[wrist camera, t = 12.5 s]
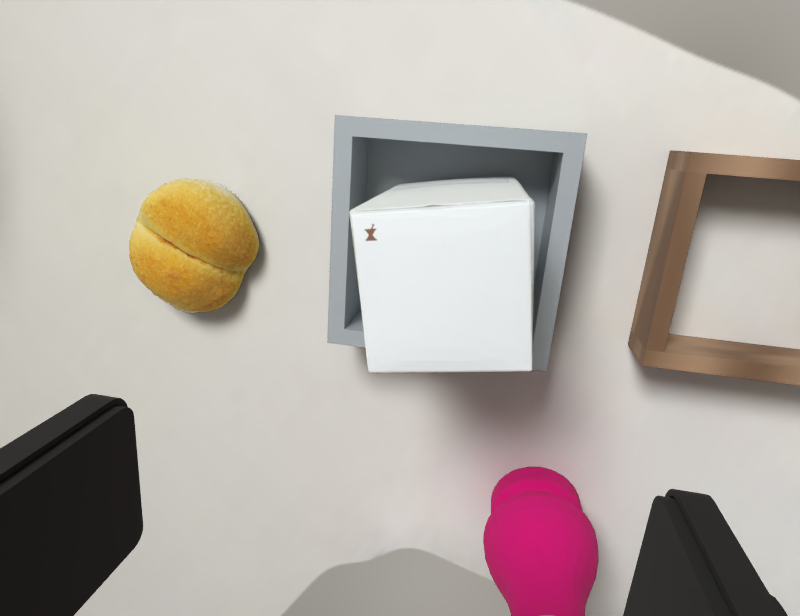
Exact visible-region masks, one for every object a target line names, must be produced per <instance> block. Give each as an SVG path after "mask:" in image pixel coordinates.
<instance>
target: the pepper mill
mask: <svg viewBox="0 0 800 616" xmlns="http://www.w3.org/2000/svg"><path fill="white" fill-rule="evenodd" d="M483 542H484V550H485V559H486V562H487V565H488V568H489V571H490V574H491V576H492V578H493V580H494V582H495V584H496V585H497V587H498V589H499V590H500V592H501V593H502V595H503V597H504V598H505V600H506V602H507V603H508V606H509V609H510V612H511V616H585V606H586V602H587V599H588V596H589V594H590V591H591V589H592V586H593V584H594V581H595V578H596V573H597V566H598V546H597V539H596V535H595V531H594V529H593V527H592V525H591V523H590V521H589V519H588V518H587V516H586V515H585V514H584V513H583V512H582V509H581V505H580V501H579V497H578V494H577V492H576V490H575V488H574V486H573V485H572V484H571V483H570V482H569V481H568V480H567V479H566V478H565V477H564V476H562V475H560V474H558V473H557V472H555V471H553V470H549V469H546V468H542V467H526V468H521V469H517V470H514V471H512V472H510V473H508V474H507V475H505V476H504V477H503V478H502V479H501V480H500V481H499V482H498V483H497V485H496V486H495V488H494V490H493V493H492V498H491V515H490V517H489V519H488V521H487V523H486V526H485V531H484V540H483Z"/></svg>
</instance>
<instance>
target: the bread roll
mask: <svg viewBox="0 0 800 616" xmlns="http://www.w3.org/2000/svg"><path fill="white" fill-rule="evenodd" d="M129 248H130V255H129V256H130V261H131V264H132V267H133V271H134V272H135V274H136V275H137V277H138V278H139V280H140V281H141V282H142V283H143V284H144V285H145V286H146V287H147V288H148V289H149V290H151V291H152V293H153V294H154V295H156V296H158V297H159V298H160V299H162V300H164V301H165V302H167V303H169V304H170V305H172V306H173V307H175V308H177V309H178V310H181V311H184V312H187V313H196V312H208V311H213V310H216V309H219V308H221V307H222V306H223V305H225V304H226V303H227V302H228V301H230V300H231V299H232V298H233V297H234V295H235V294H236V293H237V291H238V289H239V287H240V285H241V282H242V280H243V277H244V274H245V273H246V271H247V269H248V267H249V266H250V265H251V264H252V263H253V261H254V260H255V258H256V255H257V253H258V249H259V239H258V235H257V232H256V230H255V227H254V225H253V223H252V220H251V218H250V216H249V214H248V212H247V211H246V209H245V208H244V206H243V204H242V203H241V201H240V200H239V199H238V198H237V196H236V195H235V194H234V193H232V192H231V191H230V190H228V189H227V188H226V187H224V186H222V185H220V184H218V183H216V182H213V181H207V180H198V179H179V180H175V181H171V182H169V183H166V184H164V185H162V186H160V187H159V188H158V189H156V190H155V191H153V192H152V193H150V194H149V195H148V196H147V198H146V199H145V200H144V202H143V203H142V206H141V209H140V212H139V215H138V218H137V221H136V223H135V226H134V229H133V231H132V234H131V238H130V244H129Z"/></svg>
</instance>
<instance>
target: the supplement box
mask: <svg viewBox="0 0 800 616" xmlns="http://www.w3.org/2000/svg"><path fill="white" fill-rule="evenodd" d="M349 215H350V222H351V230H352V238H353V246H354V254H355V262H356V270H357V278H358V286H359V294H360V302H361V311H362V320H363V329H364V339H365V348H366V357H367V366H368V371H369V372H370V373H431V372H512V371H532V351H533V292H534V234H535V202H534V201H533V200H532V199H531V198H530V197H529V196H528V194H527V193H526V192H525V190H524V189H523V187H522V186H521V184H520V183H519V182H518V181H517V179H516V178H515V177H514V176H496V177H478V178H460V179H447V180H435V181H424V182H413V183H400V184H398V185H397V186H395V187H393V188H391V189H389V190H387V191H385V192H384V193H382V194H380V195H378V196H376V197H374V198H372V199H370V200H369V201H367V202H365V203H363V204H361V205H359V206H357V207H355V208H353V209H352V210H350V212H349Z"/></svg>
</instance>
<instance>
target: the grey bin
mask: <svg viewBox="0 0 800 616" xmlns="http://www.w3.org/2000/svg"><path fill="white" fill-rule="evenodd" d="M586 138H587V133H573V132H559V131H546V130H532V129H518V128H504V127H491V126H477V125H463V124H449V123H436V122H422V121H408V120H394V119H381V118H367V117H353V116H340V115H335V126H334V157H333V187H332V218H331V249H330V279H329V310H328V341H327V343H333V344H341V345H349V346H356V347H364V348H365V339H364V329H363V320H362V311H361V302H360V294H359V286H358V278H357V270H356V262H355V254H354V246H353V238H352V230H351V222H350V215H349V212H350V210H352V209H353V208H355V207H357V206H359V205H361V204H363V203H365V202H367V201H369V200H370V199H372V198H374V197H376V196H378V195H380V194H382V193H384V192H385V191H387V190H389V189H391V188H393V187H395V186H397V185H398V184H400V183H413V182H424V181H435V180H447V179H460V178H478V177H496V176H514V177H515V178H516V179H517V181H518V182H519V183H520V184H521V186H522V187H523V189H524V190H525V192H526V193H527V194H528V196H529V197H530V198H531V199H532V200H533V201H534V202H535V234H534V292H533V351H532V370H540V371H547V367H548V361H549V355H550V349H551V344H552V338H553V332H554V326H555V320H556V314H557V308H558V303H559V297H560V291H561V285H562V279H563V273H564V267H565V261H566V256H567V250H568V244H569V238H570V232H571V226H572V220H573V215H574V209H575V203H576V197H577V191H578V185H579V179H580V174H581V168H582V162H583V156H584V150H585V144H586Z"/></svg>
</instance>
